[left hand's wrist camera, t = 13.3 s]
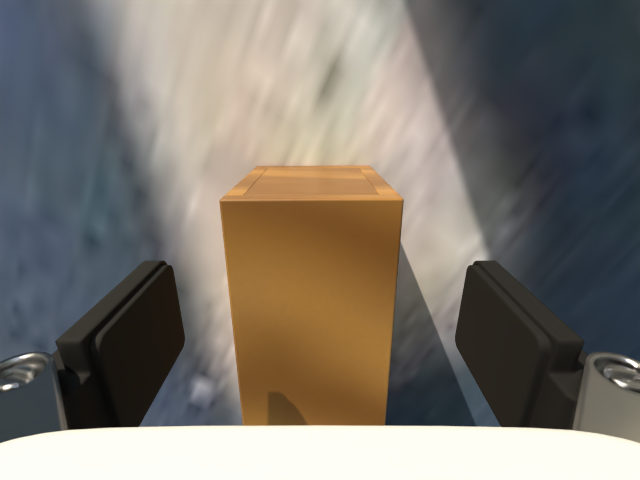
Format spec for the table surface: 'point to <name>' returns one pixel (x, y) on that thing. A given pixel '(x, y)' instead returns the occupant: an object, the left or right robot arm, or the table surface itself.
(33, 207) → the table surface
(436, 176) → the table surface
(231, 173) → the table surface
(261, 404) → the cabinet
